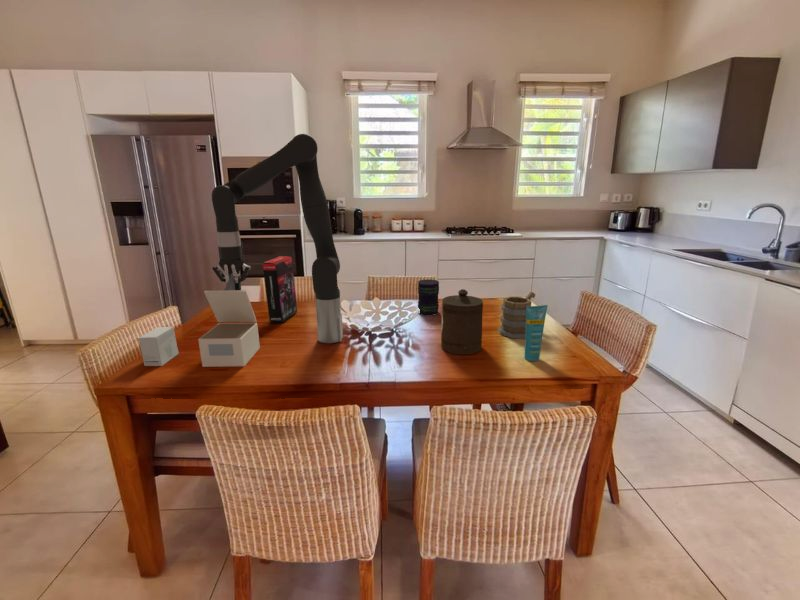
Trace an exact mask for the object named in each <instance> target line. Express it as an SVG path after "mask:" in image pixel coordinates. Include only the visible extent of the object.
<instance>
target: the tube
mask: <svg viewBox="0 0 800 600" xmlns="http://www.w3.org/2000/svg"><path fill="white" fill-rule="evenodd" d="M547 309H548V304H542V305H531V306H526V338H524V339H525V341H524V343H525V345H524V357H523V358H524V359H525V360H526V361H531V362H537V361H540V356H541V347H542V340H543V334H544V327H545V321H546V317H547V311H548V310H547Z"/></svg>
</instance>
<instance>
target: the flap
mask: <svg viewBox="0 0 800 600" xmlns="http://www.w3.org/2000/svg"><path fill="white" fill-rule="evenodd" d="M203 292H204V295H205V297H206V299H207V301H208V303H209V305H210V308H211V311H212V313H213V315H214V316H215V319H216V321H217V323H257V316H256V315H255V312H254V309H253V306H252V303H251V301H250V298H249V295H248V293H247V290H246V289H245V290H244V289H241V290H235V279H234V277H233V273H232V274H231V276H230V279H229V281H228V283H226V285H225V288H224V290H221V289H220V290H204V291H203Z"/></svg>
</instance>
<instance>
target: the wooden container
mask: <svg viewBox="0 0 800 600" xmlns="http://www.w3.org/2000/svg"><path fill="white" fill-rule="evenodd" d="M457 293H458V295H449V296H445V297H443V298H442V302H441V305H442V307H441V308H442V309H441V327H440V328H441V329H440V331H441V332H440V339H441V340H440V342H441V343H440V346H441V349H442V350H443V351H445V352H447V353H449V354H454V355H463V356H464V355H467V356H468V355H472V354H473V355H474V354H477V353H479V352H480V351H481V350H482V344H483V343H482V338H483V307H484V301H483V299H481V298H480V297H476V296H473V295H469V294H468V293H469V292H468V290H466V289H463V288H462V289H460V290H458V291H457Z"/></svg>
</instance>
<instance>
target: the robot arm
mask: <svg viewBox="0 0 800 600" xmlns="http://www.w3.org/2000/svg"><path fill="white" fill-rule="evenodd" d="M317 154H318V143H317V140H315V138H314V137H313V136H311V135H310V134H306V133H299V134H297V135H295V136H294V137H293V138H292V139H291V140H289V141H288V143H286V144H285V145H284V146H283V147H282V148H280V149H279V150H278V151H276V152H275V153H273V154H272V155H270V156H269V157H267V158H264V159H263V160H261V161H259V162H258V163H256V164H254V165H252V166H251V167H249V168H247V169H246V170H244V171H242V172H241V173H239V174H237V175H236V176H235V178H234V179H231V180H229V181H228V182H226V183H224V184H223V185H222V184H220V185H217V186H215V187H214V188H213V190H212V192H211V202H212V206H213V207H212V208H213V211H214V215H215V224H216V242H217V251H218V258H219V261H218V264H217V265H215V266H213V267H212V270H213V273H215V275H216V276H217V277H218V279H219V280H220V282H222V283H226V284H227V283H228V281H229V279H230V276H231V274H232V273H233V277H234V279H235V290H242V284H241V282H244V281H246V280H247V277H248V276H249V274H250V272H251V269H252V266H251V265H248V264H246V263H245V262H244V260H243V251H242V242H241V241H242V240H241V234H240V229H239V221H238V217H237V215H236V214H237V213H236V206H235V204H236V203H237V202H239V201H241V200H242V199H243V198H245V197H246V196H247V195H250V194H252V193H254V192H255V191H257V190H259V189H260V188H262V187H264V186H265V185H266V184H267V185H268V183H270V182H272V180H275V179H276V177H278V176H279V175H281V174H282V173H283V172H285V171H287V170H288V169H290V168H292V167H294V166H295V170H296V173H297V177H298V182H299V183H298V184H299V195H300V202H301V203H300V205H301V209H302V215H303V218H304V222H305V225H306V227H307V230H308V232H309V234H310V235H311V237H312V241H313V244H314V247H315V255H316V259H315V260H314V261H313V262H312V265H311V277H312V279H311V280H312V288H313V291H314V295H315V296H314V297H315V306H316V307H315V309H316V311H315V312H316V323H317V326H316V327H317V338H318V340H317V341H318V342H320V343H323V344H333V343H340V342H342V340H343V337H344V331H343V327H344V326H343V314H342V309H341V308H342V307H341V290H340V289H339V286H338V274H339V272H340V269H341V263H340V259H339V256H338V252H337V249H336V245H335V242H334V238H333V237H334V236H333V230H332V228H333V227H332V223H331V215H330V209H329V205H328V199H327V197H326V193H325V190H324V188H323V187H324V186H323V185H322V182H321V179H320V174H319V167H318V166H319V165H318V158H317V156H318V155H317ZM241 270H243V272H242V274H241ZM223 271H224V272H223Z"/></svg>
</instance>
